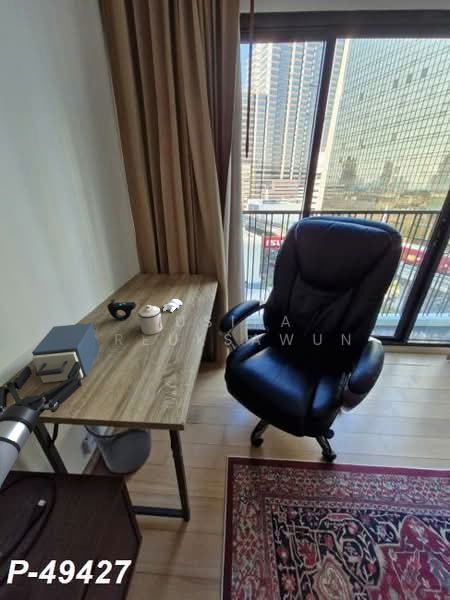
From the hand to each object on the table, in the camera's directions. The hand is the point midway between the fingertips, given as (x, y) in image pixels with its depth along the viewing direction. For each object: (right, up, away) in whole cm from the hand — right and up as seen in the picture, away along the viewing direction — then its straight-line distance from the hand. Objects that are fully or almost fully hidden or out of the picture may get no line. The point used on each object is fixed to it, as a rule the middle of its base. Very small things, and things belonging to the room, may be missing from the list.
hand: (54, 367), depth 76 cm
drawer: (-1, -4, +8) cm, 9 cm away
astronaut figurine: (+25, +17, +51) cm, 59 cm away
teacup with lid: (+20, +8, +34) cm, 40 cm away
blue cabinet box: (-2, -2, +13) cm, 13 cm away
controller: (+5, +11, +41) cm, 43 cm away
